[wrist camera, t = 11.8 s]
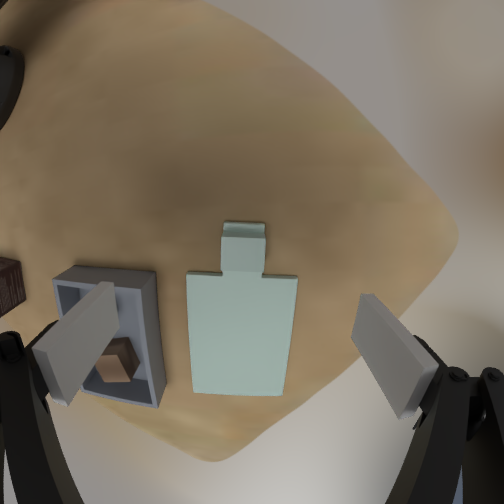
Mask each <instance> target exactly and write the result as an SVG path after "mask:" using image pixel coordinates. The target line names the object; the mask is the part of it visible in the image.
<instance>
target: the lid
mask: <svg viewBox="0 0 504 504" xmlns="http://www.w3.org/2000/svg"><path fill="white" fill-rule="evenodd" d="M264 230H265V224H264V223H247V222H224V231H223V234H222V236H221V271H223V273H209V272H190V271H188V272H187V274H186V283H187V309H188V328H189V344H190V358H191V370H192V382H193V392H197V393H209V394H223V395H246V396H282V394H283V388H284V381H285V375H286V368H287V361H288V354H289V347H290V340H291V333H292V325H293V317H294V309H295V301H296V292H297V283H298V278H297V276H280V275H262V272H264V261H265V246H266V237H265V234H264Z"/></svg>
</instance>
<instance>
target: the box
mask: <svg viewBox="0 0 504 504" xmlns="http://www.w3.org/2000/svg"><path fill="white" fill-rule="evenodd" d="M25 300H26V296H25V290H24V285H23V278H22V271H21V263H20V261H15V260H10V259H5V258H0V318H1V317H2V316H4V315H5V314H7V313H8V312H9V311H11V310H12V309H14V308H15V307H17V306H18V305H20V304H21V303H22V302H24V301H25Z"/></svg>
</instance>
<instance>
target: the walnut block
mask: <svg viewBox="0 0 504 504" xmlns="http://www.w3.org/2000/svg"><path fill="white" fill-rule="evenodd" d="M139 364H140V361H139V359H138V357H137V354H136V352H135V350H134V348H133V346H132V343H131V341H130V339H129V337H122V338H113V339H111V341H110V342H109V344H108V345H107V347H106V348H105V350H104V351H103V353H102V354H101V356H100V357H99V359H98V360H97V362H96V363H95V366H96V368H97V370H98V372H99V374H100V375H101V377H102V379H103V381H104V382H131V380H132V378H133V376H134V374H135V372H136V370H137V368H138V366H139Z"/></svg>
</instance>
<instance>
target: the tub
mask: <svg viewBox="0 0 504 504" xmlns="http://www.w3.org/2000/svg"><path fill="white" fill-rule="evenodd" d="M52 281H53V287H54V293H55V298H56V303H57V308H58V313H59V317H60V319H61V318H62V317H63V316H64V315H65V314H66V313H67V312H68V311H69V310H70V309H71V308H72V307H74V306H75V305H76V304H77V303H78V302H79V301H80V300H81V299H82V298H83V297H84V296H85V295H87V294H88V293H89V292H90V291H91V290H92V289H93V288H94V287H95V286H96V285H98V284H99V283H100V282H101V281H104V282H113V283H114V291H115V299H116V302H117V304H118V319H119V325H120V328H119V329H118V331H117V332H116V334H115V335H114V336H113V338H122V337H129V339H130V341H131V343H132V346H133V348H134V350H135V352H136V354H137V357H138V359H139V361H140V364H139V366H138V368H137V370H136V372H135V374H134V376H133V378H132V380H131V382H104V381H103V379H102V377H101V375H100V374H99V372H98V370H97V368H96V366H95V365H94V366H93V368H92V369H91V371H90V373H89V374H88V376H87V377H86V379H85V380H84V382H83V384H82V385H81V387H80V388H81V391H82V392H84V393H88V394H92V395H96V396H99V397H103V398H108V399H112V400H116V401H121V402H125V403H130V404H135V405H141V406H146V407H152V408H158V407H159V404H160V401H161V398H162V395H163V393H164V390H165V387H166V384H167V383H166V376H165V369H164V361H163V353H162V344H161V335H160V324H159V313H158V300H157V284H156V272H150V271H137V270H124V269H112V268H100V267H89V266H78V265H74V266H72V267H71V268H69V269H67V270H66V271H64V272H63V273H61V274H59V275H58V276H56V277H55V278H53V279H52ZM113 338H112V339H113Z"/></svg>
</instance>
